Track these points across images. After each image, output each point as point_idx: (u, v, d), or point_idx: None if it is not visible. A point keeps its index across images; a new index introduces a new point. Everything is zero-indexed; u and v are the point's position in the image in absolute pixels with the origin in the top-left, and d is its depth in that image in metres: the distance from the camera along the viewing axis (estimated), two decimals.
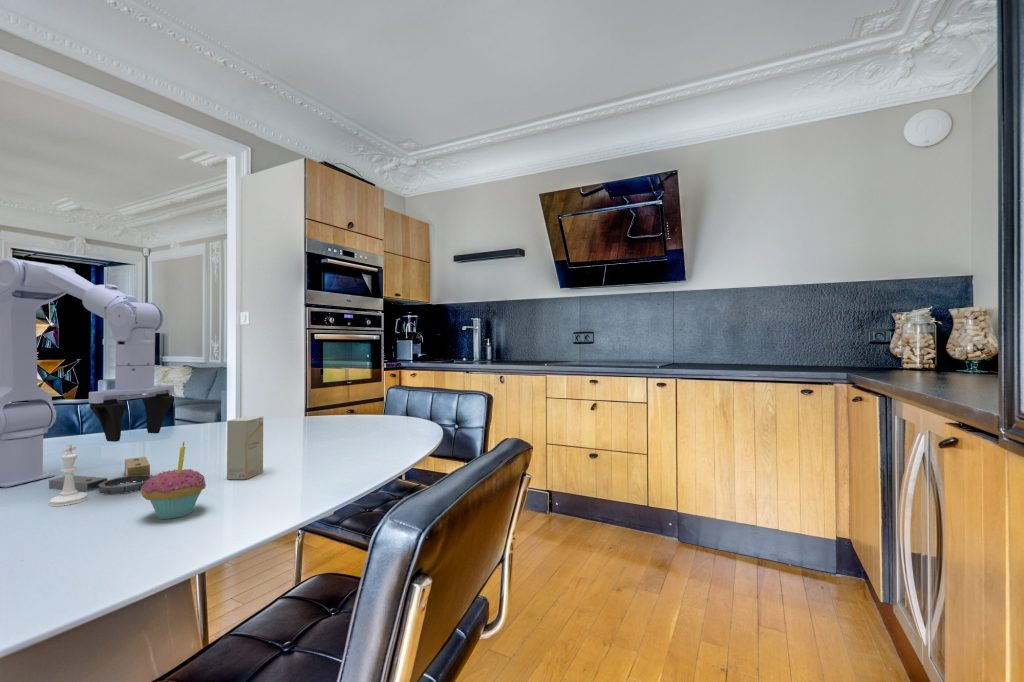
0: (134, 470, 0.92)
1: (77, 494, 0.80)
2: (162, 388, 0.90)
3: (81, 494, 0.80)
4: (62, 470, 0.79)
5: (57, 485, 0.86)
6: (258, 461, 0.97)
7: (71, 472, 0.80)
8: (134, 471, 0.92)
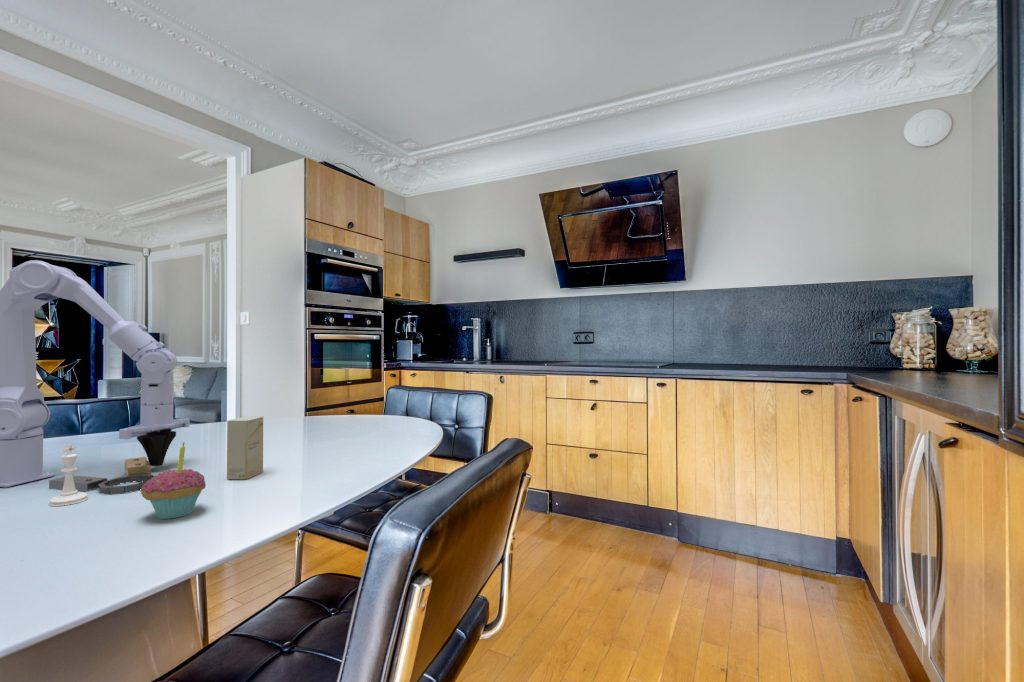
0: (134, 470, 0.92)
1: (77, 494, 0.80)
2: (180, 422, 1.03)
3: (81, 494, 0.80)
4: (62, 470, 0.79)
5: (57, 485, 0.86)
6: (258, 461, 0.97)
7: (71, 472, 0.80)
8: (134, 471, 0.92)
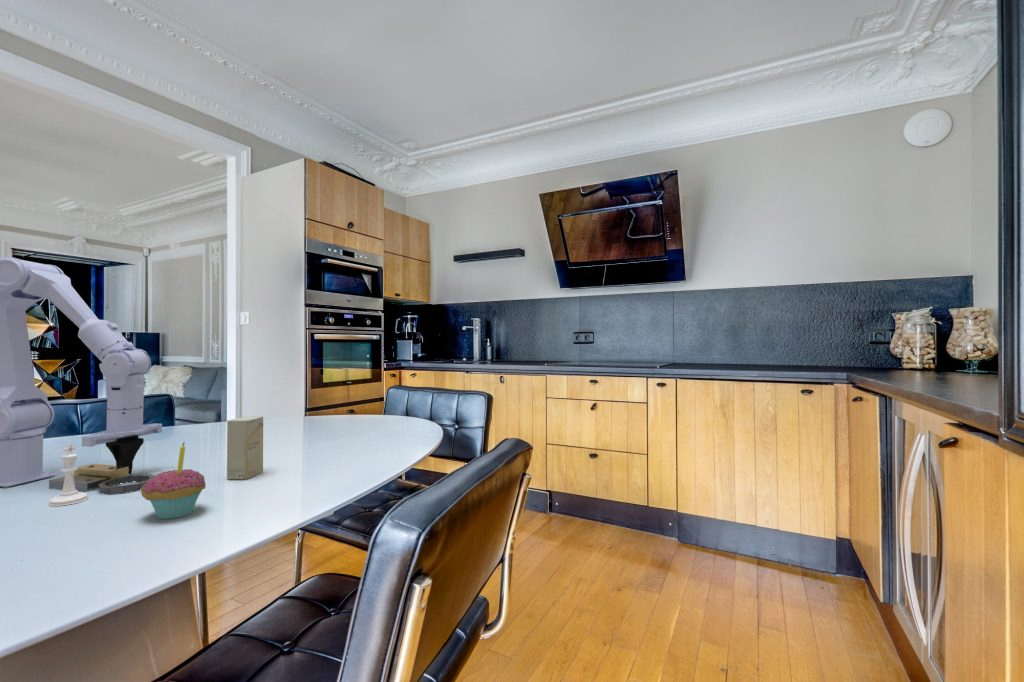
0: (115, 473, 0.90)
1: (77, 494, 0.80)
2: (150, 428, 0.97)
3: (81, 494, 0.80)
4: (62, 470, 0.79)
5: (57, 485, 0.86)
6: (258, 461, 0.97)
7: (71, 472, 0.80)
8: (115, 474, 0.90)
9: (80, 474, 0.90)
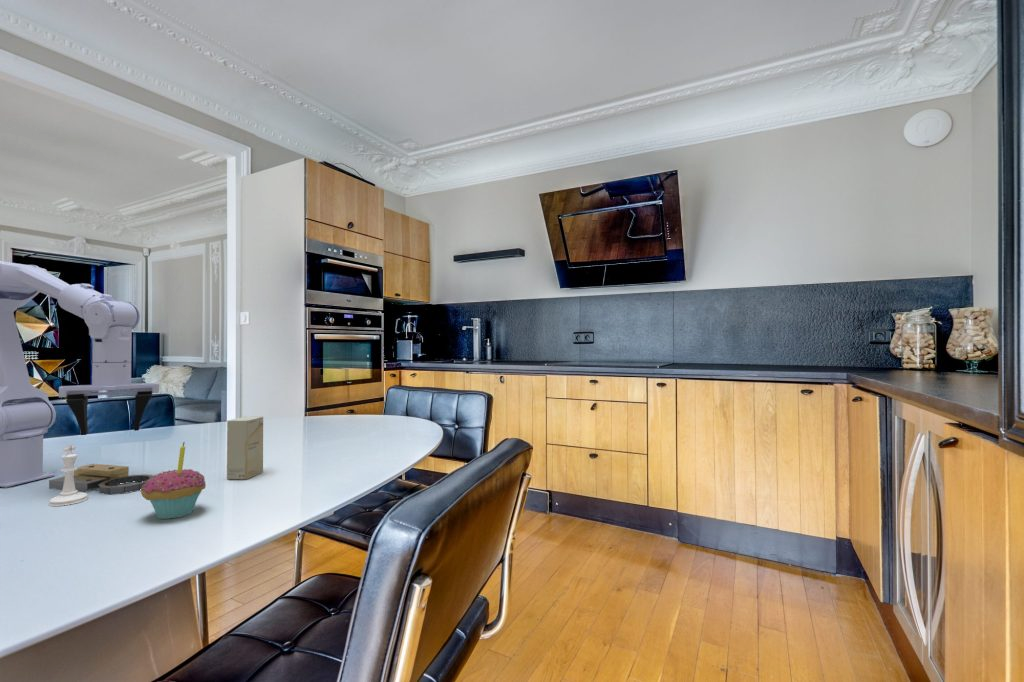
0: (115, 473, 0.90)
1: (77, 494, 0.80)
2: (137, 386, 0.89)
3: (81, 494, 0.80)
4: (62, 470, 0.79)
5: (57, 485, 0.86)
6: (258, 461, 0.97)
7: (71, 472, 0.80)
8: (115, 474, 0.90)
9: (80, 474, 0.90)
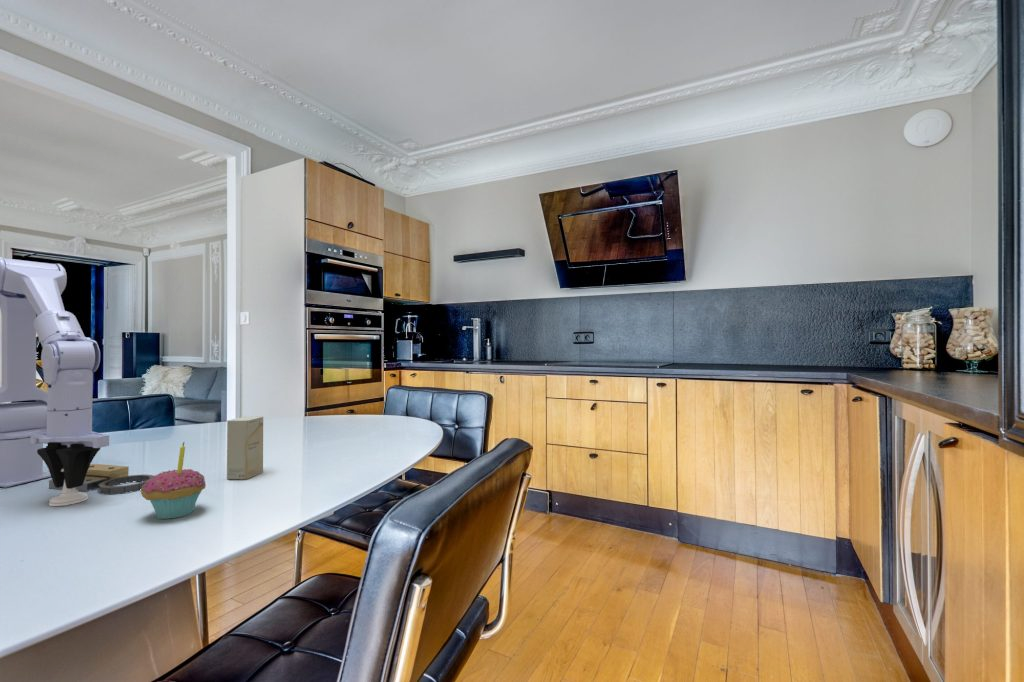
0: (115, 473, 0.90)
1: (77, 494, 0.80)
2: (76, 439, 0.77)
3: (81, 494, 0.80)
4: (62, 470, 0.79)
5: None
6: (258, 461, 0.97)
7: None
8: (115, 474, 0.90)
9: None
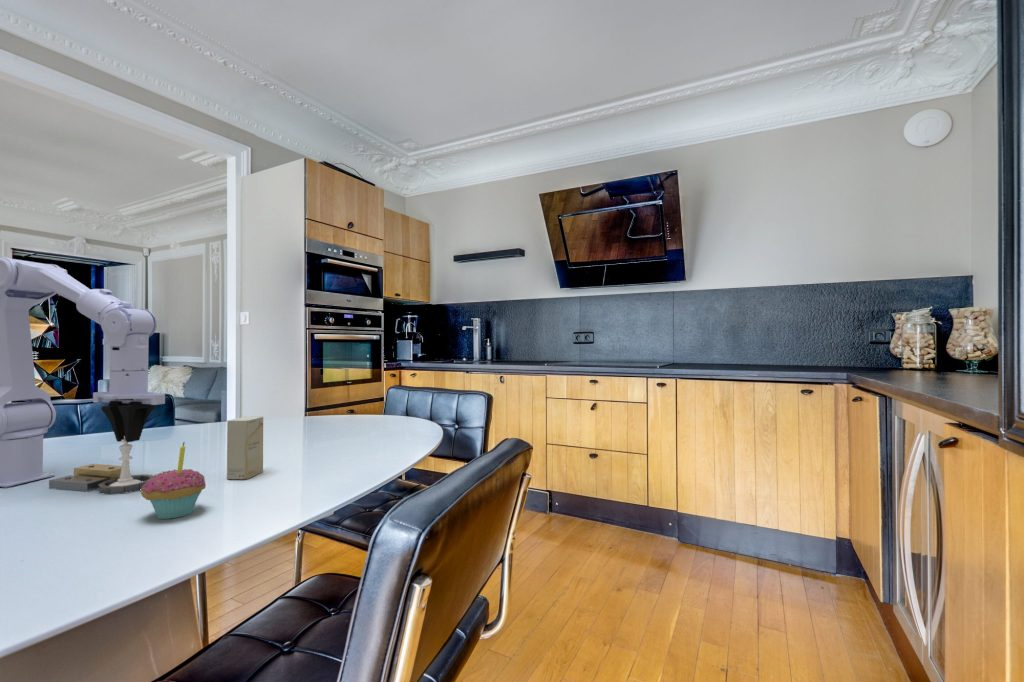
0: (115, 473, 0.90)
1: (133, 480, 0.88)
2: (136, 396, 0.85)
3: (136, 480, 0.88)
4: (120, 459, 0.86)
5: (57, 485, 0.86)
6: (258, 461, 0.97)
7: (128, 461, 0.87)
8: (115, 474, 0.90)
9: (80, 474, 0.90)
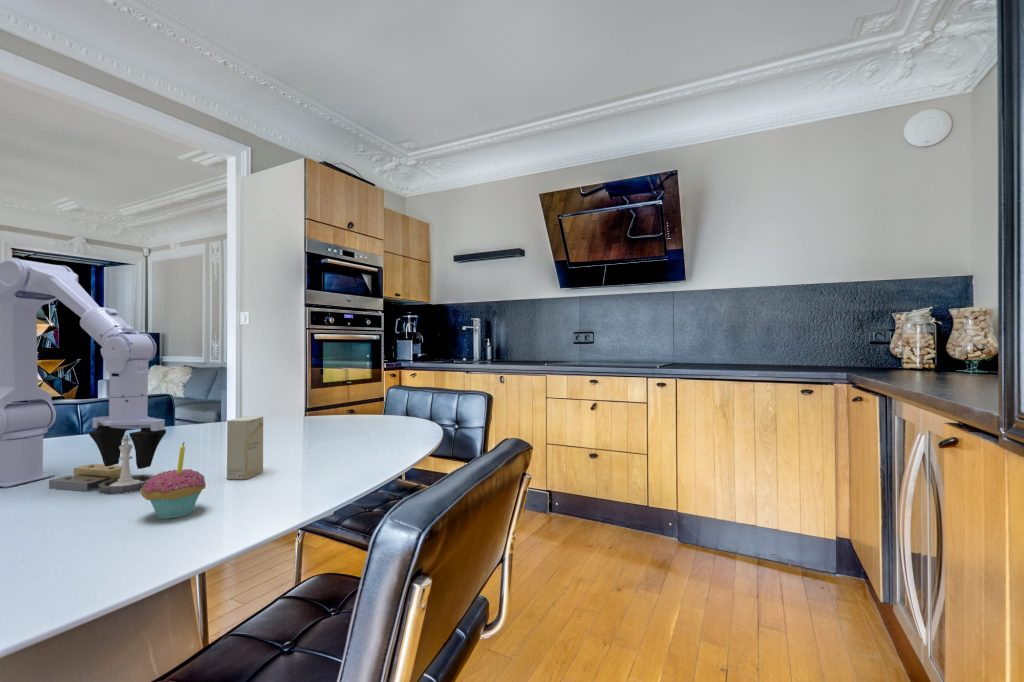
0: (115, 473, 0.90)
1: (133, 480, 0.88)
2: (135, 422, 0.85)
3: (136, 480, 0.88)
4: (120, 459, 0.86)
5: (57, 485, 0.86)
6: (258, 461, 0.97)
7: (128, 461, 0.87)
8: (115, 474, 0.90)
9: (80, 474, 0.90)
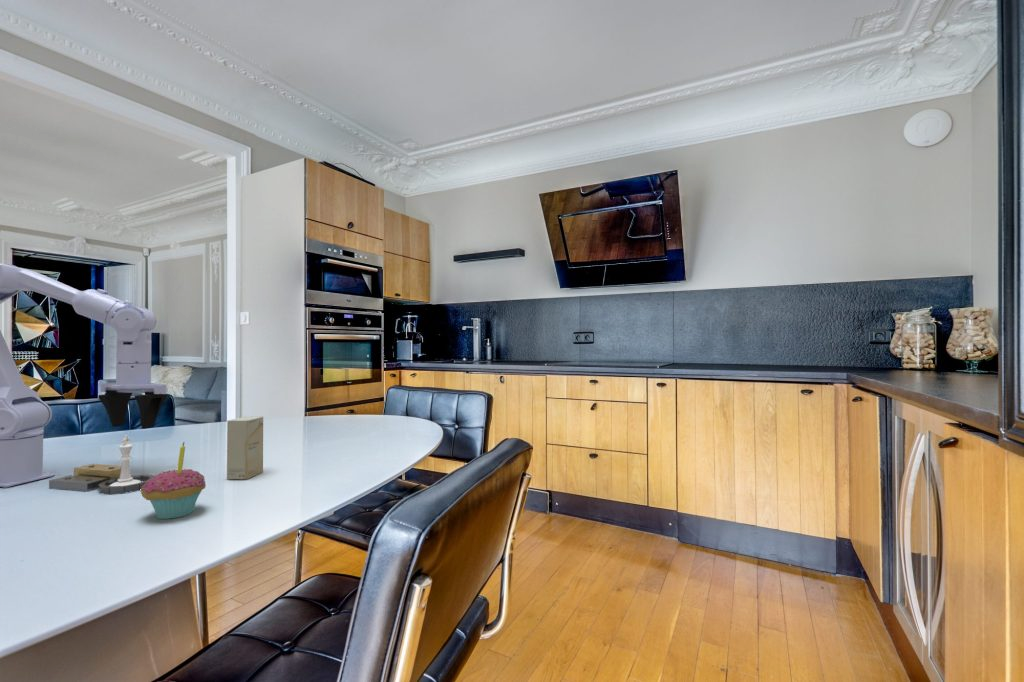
0: (115, 473, 0.90)
1: (133, 480, 0.88)
2: (140, 386, 0.94)
3: (136, 480, 0.88)
4: (120, 459, 0.86)
5: (57, 485, 0.86)
6: (258, 461, 0.97)
7: (128, 461, 0.87)
8: (115, 474, 0.90)
9: (80, 474, 0.90)
